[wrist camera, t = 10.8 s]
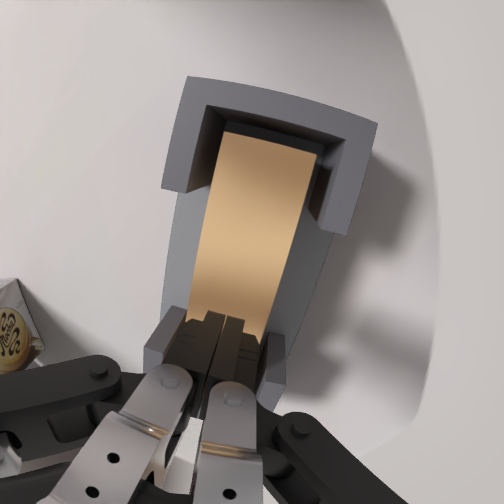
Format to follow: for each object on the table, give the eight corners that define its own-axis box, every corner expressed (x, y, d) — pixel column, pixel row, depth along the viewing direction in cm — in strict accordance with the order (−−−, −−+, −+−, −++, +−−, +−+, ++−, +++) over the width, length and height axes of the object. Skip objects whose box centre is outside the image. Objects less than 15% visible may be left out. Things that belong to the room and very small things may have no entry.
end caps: (206, 88, 16) (175, 59, 10) (360, 127, 16) (397, 114, 10) (159, 355, 22) (133, 403, 17) (272, 385, 22) (269, 440, 17)
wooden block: (239, 139, 16) (224, 131, 11) (304, 156, 16) (316, 154, 11) (194, 345, 21) (176, 389, 16) (245, 358, 21) (237, 406, 16)
